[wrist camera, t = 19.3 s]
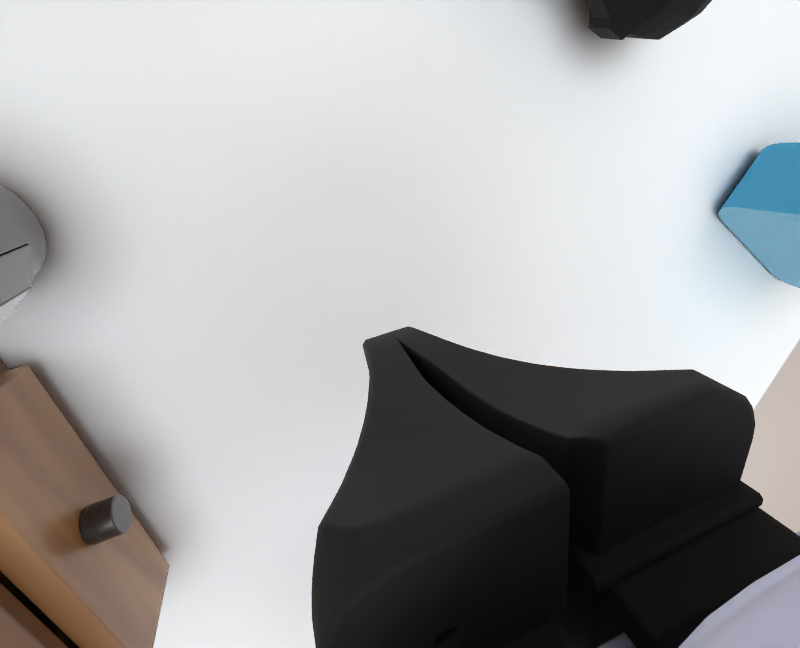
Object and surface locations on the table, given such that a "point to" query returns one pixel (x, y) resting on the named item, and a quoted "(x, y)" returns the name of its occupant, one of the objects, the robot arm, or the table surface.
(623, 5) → the microphone
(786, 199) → the data package
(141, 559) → the drawer
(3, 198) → the dark grey hollow cylinder
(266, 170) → the table surface
